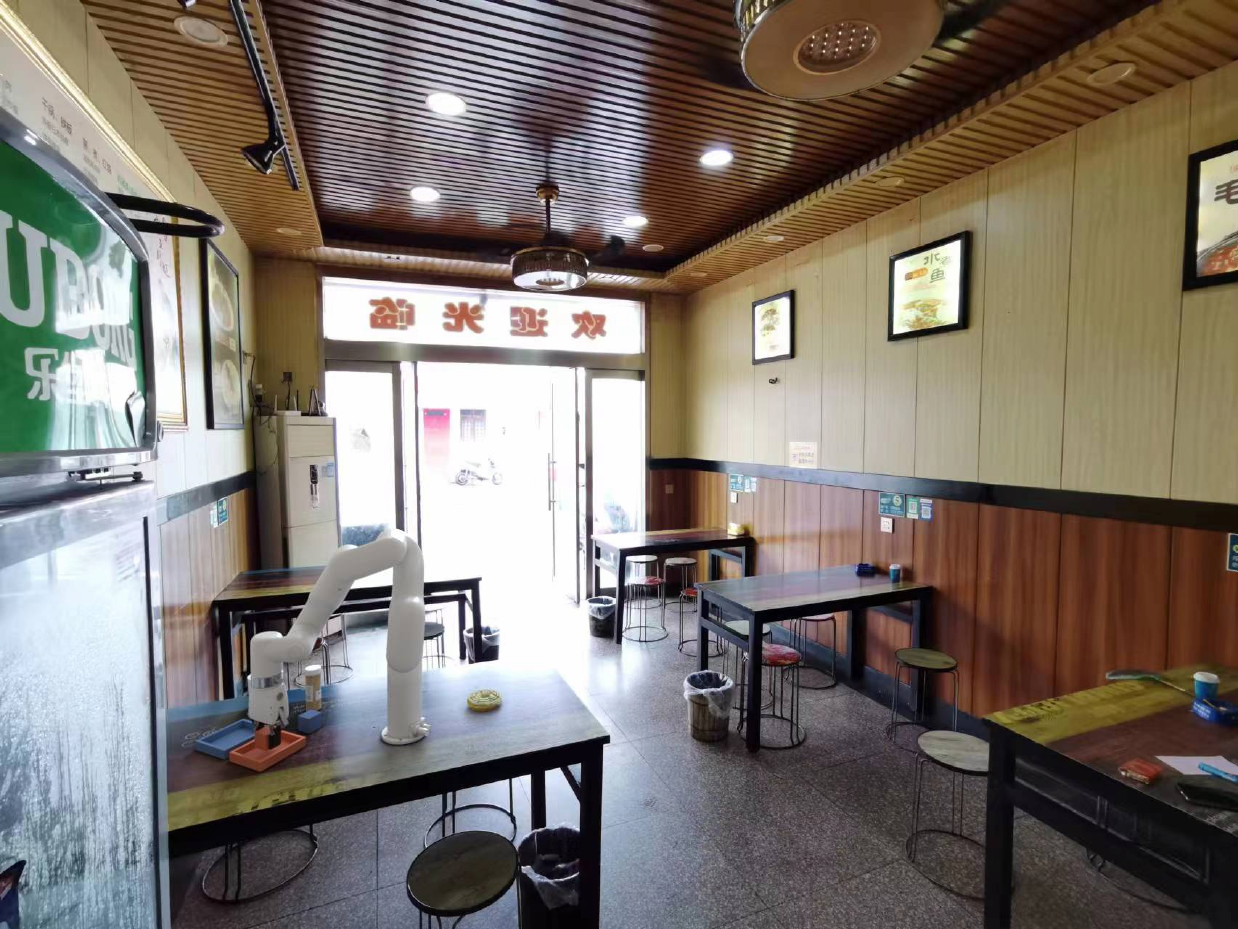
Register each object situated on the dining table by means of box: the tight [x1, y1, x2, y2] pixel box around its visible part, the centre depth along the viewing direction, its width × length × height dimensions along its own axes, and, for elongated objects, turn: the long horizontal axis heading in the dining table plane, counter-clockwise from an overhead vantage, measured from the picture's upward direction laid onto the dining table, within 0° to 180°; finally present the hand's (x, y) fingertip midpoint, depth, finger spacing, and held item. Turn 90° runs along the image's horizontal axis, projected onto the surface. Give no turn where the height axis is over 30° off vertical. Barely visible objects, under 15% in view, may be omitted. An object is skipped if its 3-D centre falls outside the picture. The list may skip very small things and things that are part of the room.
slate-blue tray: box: [194, 718, 267, 760], centre depth 166 cm, size 12×14×2 cm
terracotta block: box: [255, 724, 277, 751], centre depth 161 cm, size 4×4×4 cm
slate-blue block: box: [297, 710, 323, 734], centre depth 174 cm, size 4×4×4 cm
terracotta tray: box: [228, 730, 307, 773], centre depth 161 cm, size 12×14×2 cm
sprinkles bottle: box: [304, 664, 323, 712], centre depth 186 cm, size 5×5×13 cm
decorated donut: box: [466, 689, 503, 712], centre depth 191 cm, size 10×11×4 cm
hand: (268, 744), depth 161 cm, fingers closed on terracotta block, 4 cm apart
